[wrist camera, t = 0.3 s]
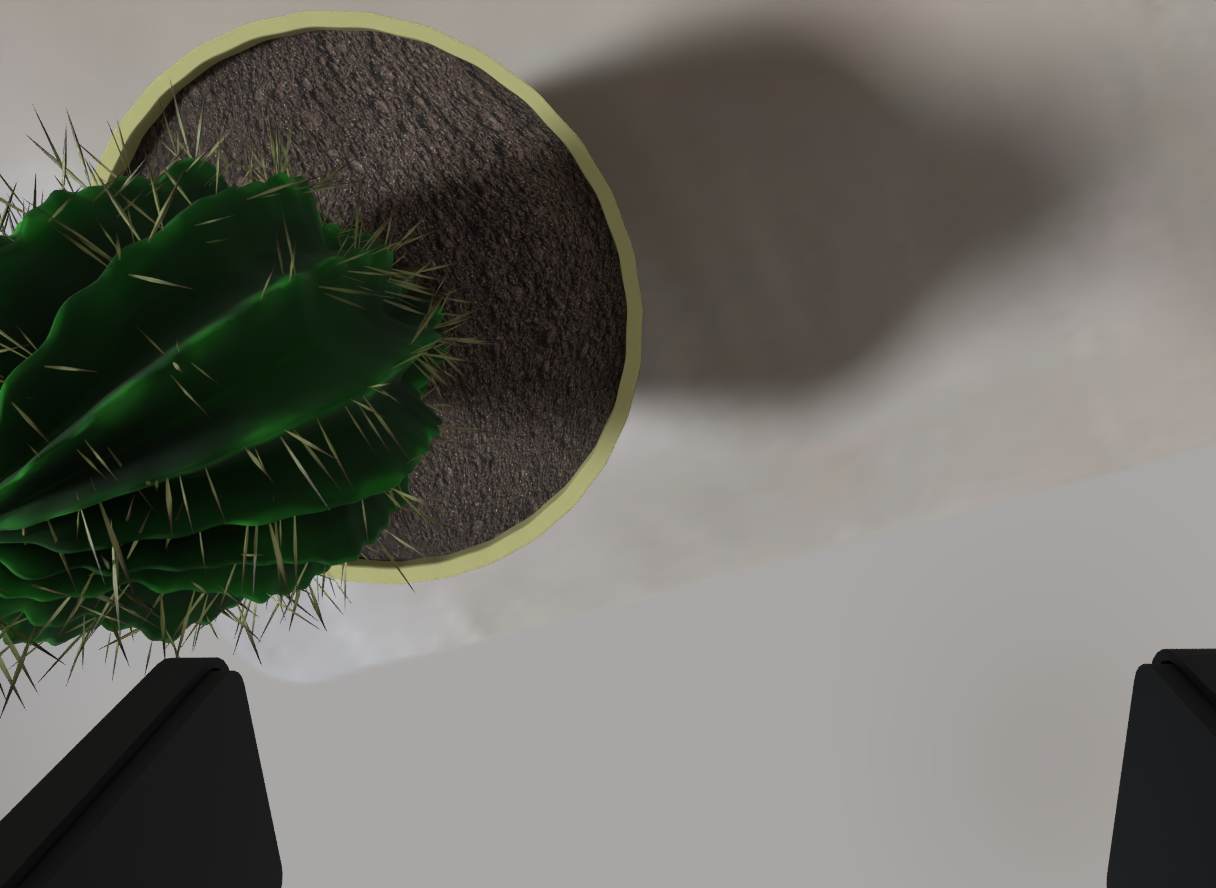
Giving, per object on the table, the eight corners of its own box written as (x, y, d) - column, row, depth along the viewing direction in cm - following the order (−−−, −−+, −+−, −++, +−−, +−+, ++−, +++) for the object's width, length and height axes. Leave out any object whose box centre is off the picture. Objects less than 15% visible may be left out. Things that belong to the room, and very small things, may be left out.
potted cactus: (367, 468, 42) (-296, 1152, 14) (239, 124, 38) (-1132, 65, 9) (696, 387, 40) (733, 1012, 11) (600, 10, 35) (261, -544, 7)
